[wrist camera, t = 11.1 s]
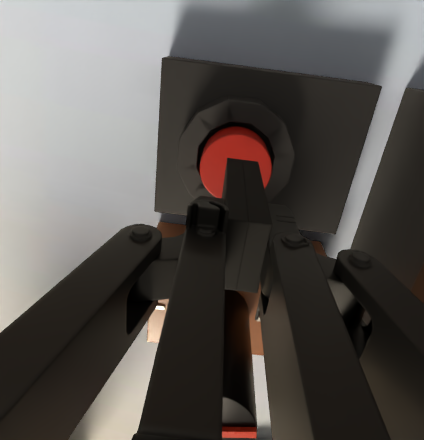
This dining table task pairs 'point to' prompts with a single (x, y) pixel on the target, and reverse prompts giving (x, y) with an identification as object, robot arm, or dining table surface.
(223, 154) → the power button
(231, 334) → the knob
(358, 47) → the dining table surface
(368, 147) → the dining table surface
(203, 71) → the button base
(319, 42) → the dining table surface
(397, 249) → the coffee maker
